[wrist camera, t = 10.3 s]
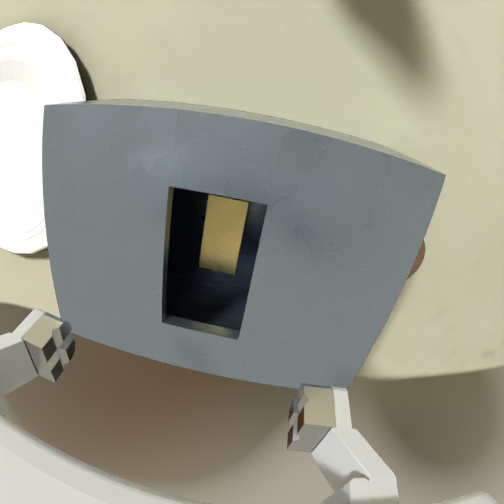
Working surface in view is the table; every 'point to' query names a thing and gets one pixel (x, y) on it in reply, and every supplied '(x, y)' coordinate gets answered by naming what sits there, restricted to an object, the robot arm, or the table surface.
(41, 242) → the plate
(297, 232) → the coin box
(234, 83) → the table surface
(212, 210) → the brushed brass bar
